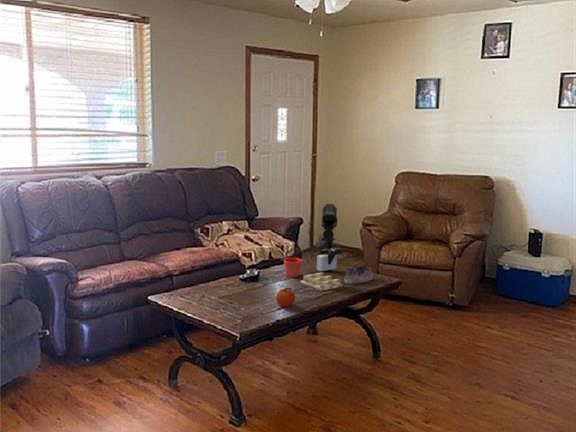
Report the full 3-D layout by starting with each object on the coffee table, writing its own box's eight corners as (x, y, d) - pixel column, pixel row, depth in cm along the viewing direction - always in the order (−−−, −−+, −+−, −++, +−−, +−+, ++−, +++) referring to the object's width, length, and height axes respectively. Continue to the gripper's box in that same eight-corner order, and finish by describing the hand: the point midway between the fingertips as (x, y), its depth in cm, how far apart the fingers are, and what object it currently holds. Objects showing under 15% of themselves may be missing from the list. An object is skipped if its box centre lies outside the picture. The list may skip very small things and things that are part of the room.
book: (331, 266, 336) (332, 253, 334) (336, 268, 332) (336, 254, 331) (316, 269, 329) (317, 255, 328) (321, 271, 326) (321, 256, 325)
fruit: (286, 301, 303) (286, 282, 301) (298, 306, 296) (299, 287, 294) (271, 305, 297) (272, 285, 295) (284, 310, 290) (285, 290, 288)
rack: (322, 278, 347) (322, 271, 346) (342, 286, 333) (343, 279, 332) (300, 282, 337) (300, 275, 337) (321, 290, 323) (321, 283, 323)
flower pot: (280, 277, 346) (281, 260, 344) (286, 272, 357) (286, 256, 355) (298, 279, 343) (298, 263, 341) (303, 274, 354) (304, 258, 352)
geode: (356, 287, 333) (355, 269, 332) (339, 285, 341) (338, 268, 340) (376, 279, 348) (375, 262, 347) (360, 277, 356) (359, 261, 354)
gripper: (306, 234, 330) (304, 261, 333) (328, 240, 316) (326, 269, 318) (321, 232, 337) (320, 259, 339) (343, 238, 322) (342, 266, 325)
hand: (326, 263), depth 330 cm, fingers closed on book, 4 cm apart
